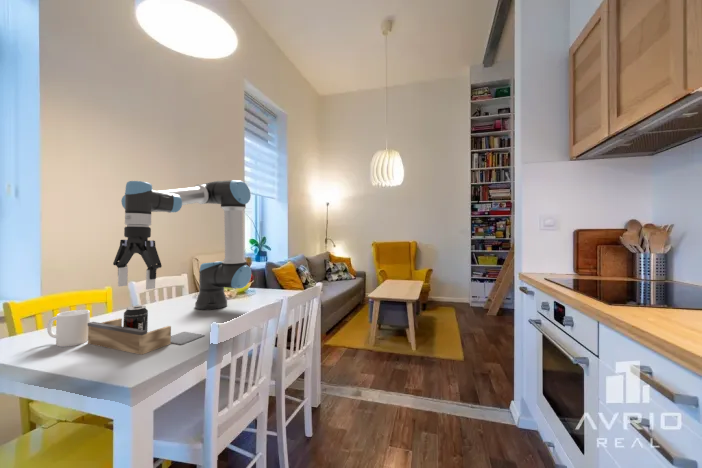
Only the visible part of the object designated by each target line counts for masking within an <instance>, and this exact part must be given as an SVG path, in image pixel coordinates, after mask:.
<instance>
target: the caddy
mask: <svg viewBox="0 0 702 468" xmlns="http://www.w3.org/2000/svg"><path fill="white" fill-rule="evenodd" d="M122 324H123V318H121V317H120V318H115V319H111V320H107V321H102V322H96V321H91V322H90V323H88V341H87V344H89V345H94V346H99V347H102V348H104V347H105V348H108V349H113V350H118V351H123V352H127V353H132V354H137V355H145V354H147V353H150V352H153V351H155V350H159V349H160V348H163V347H166V346H168V345H169V346H170V345H171V344H172V343H171V336H172V326H171V325H167V326H163V327H161V328H157V329H153V330H150V331H145V330H139V329H133V328H127V327H123V325H122Z"/></svg>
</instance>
